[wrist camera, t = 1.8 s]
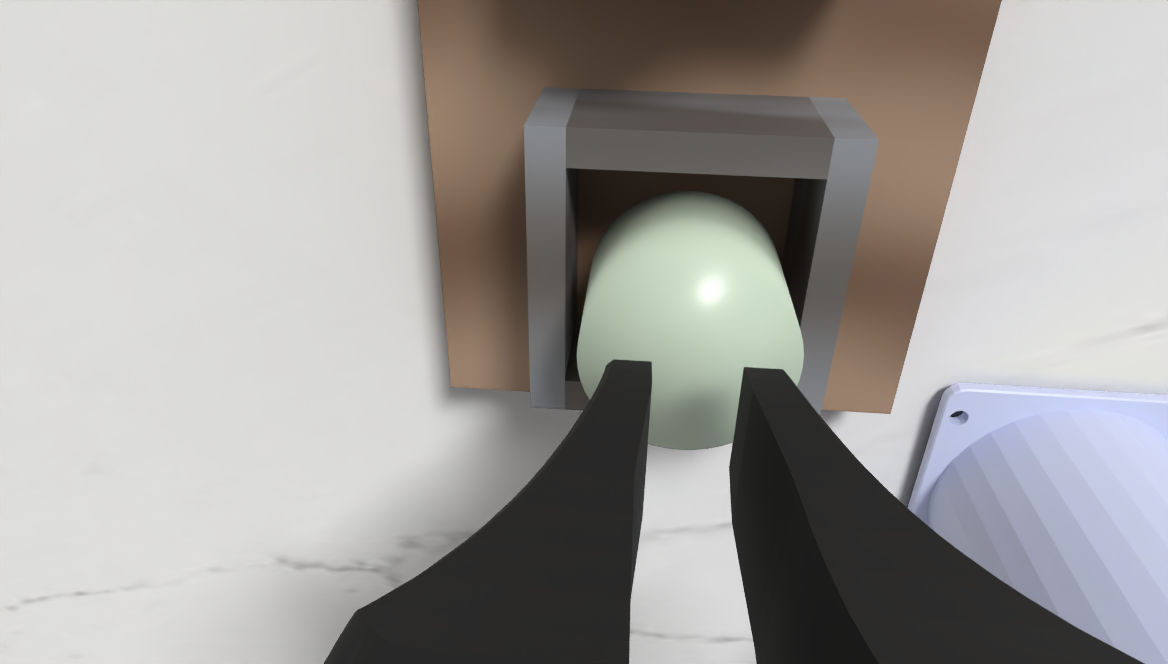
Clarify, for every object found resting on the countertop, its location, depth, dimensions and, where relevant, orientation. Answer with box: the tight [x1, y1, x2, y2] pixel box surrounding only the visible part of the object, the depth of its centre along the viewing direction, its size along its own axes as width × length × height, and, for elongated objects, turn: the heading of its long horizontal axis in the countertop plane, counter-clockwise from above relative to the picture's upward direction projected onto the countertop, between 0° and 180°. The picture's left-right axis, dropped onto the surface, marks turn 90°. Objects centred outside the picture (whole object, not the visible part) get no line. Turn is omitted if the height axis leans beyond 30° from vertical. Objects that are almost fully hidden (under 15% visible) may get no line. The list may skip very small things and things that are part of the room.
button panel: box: [418, 0, 1002, 415], centre depth 16 cm, size 20×12×5 cm, turn 179°
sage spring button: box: [577, 191, 804, 450], centre depth 15 cm, size 4×4×3 cm
